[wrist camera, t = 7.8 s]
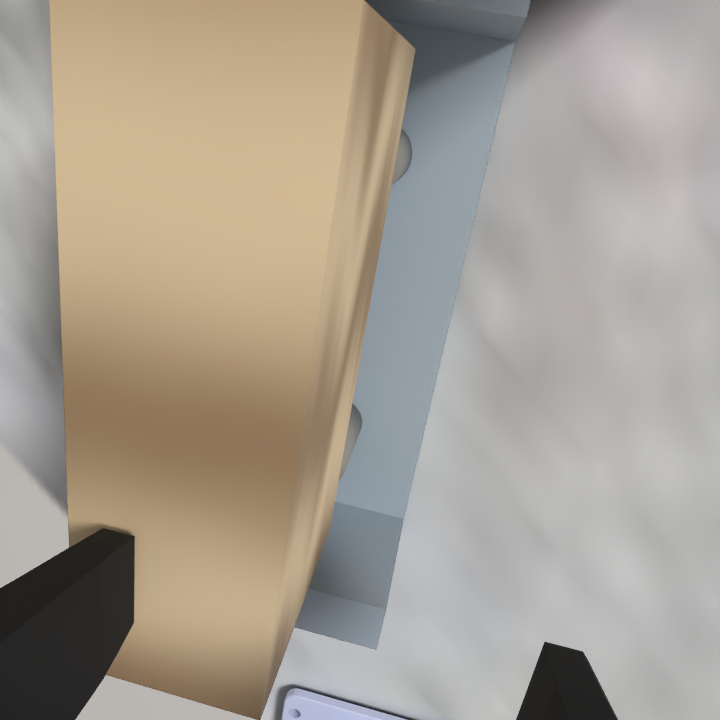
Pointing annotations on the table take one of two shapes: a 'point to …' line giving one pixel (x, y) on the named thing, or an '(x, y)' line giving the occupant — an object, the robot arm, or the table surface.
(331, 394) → the oak plank
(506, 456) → the table surface
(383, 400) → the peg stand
